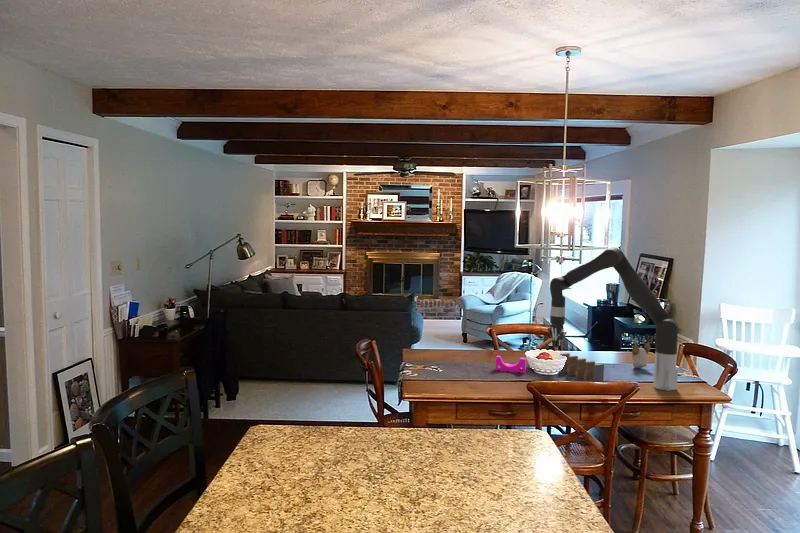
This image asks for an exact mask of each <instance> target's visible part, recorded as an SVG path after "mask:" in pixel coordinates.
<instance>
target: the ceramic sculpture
mask: <svg viewBox="0 0 800 533" xmlns="http://www.w3.org/2000/svg"><path fill="white" fill-rule="evenodd" d="M650 351H651V344H650V341H648V342H647V343H646V344H645V345H644V346H643V347H642V346H641V347H640V346H639V345H637V344H636V343H635V342H633V346H632V349H631V353H632V354H631V355H632V356H631V357H632V360H633V361H632V366H633V367H634V368H635V369H643V368H645V367H647V366H648V363H647V361H646V360H647V357H648V356H647V355H648V354H649V352H650Z"/></svg>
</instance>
